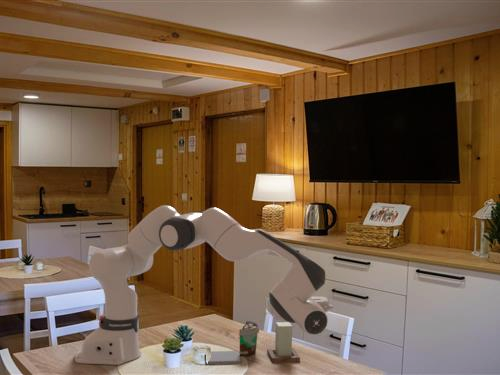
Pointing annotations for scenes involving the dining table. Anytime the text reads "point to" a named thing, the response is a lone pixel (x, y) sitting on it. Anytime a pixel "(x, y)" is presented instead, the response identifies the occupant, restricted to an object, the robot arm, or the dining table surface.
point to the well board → (292, 358)
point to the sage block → (283, 339)
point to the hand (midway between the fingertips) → (292, 298)
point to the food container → (248, 338)
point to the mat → (224, 357)
